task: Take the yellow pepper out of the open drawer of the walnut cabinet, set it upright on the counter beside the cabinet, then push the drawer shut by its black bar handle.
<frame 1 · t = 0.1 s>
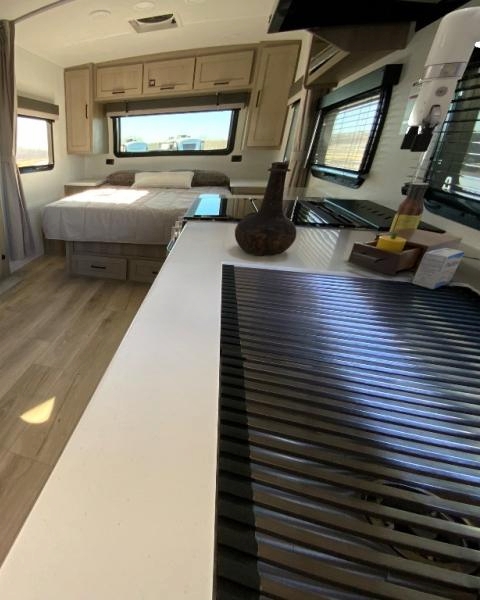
hand: (412, 150, 89), 30 cm above the worktop, tool pointing down, fingers open, 9 cm apart
drawer: (384, 255, 93), point 4 cm above the worktop, slide at 9.0 cm, touching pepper
cabinet: (407, 260, 99), on the worktop
sauce bottle: (396, 245, 111), on the worktop
glass bottle: (260, 252, 111), on the worktop
medicine box: (429, 284, 85), on the worktop
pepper: (383, 260, 94), point 2 cm above the worktop, touching drawer
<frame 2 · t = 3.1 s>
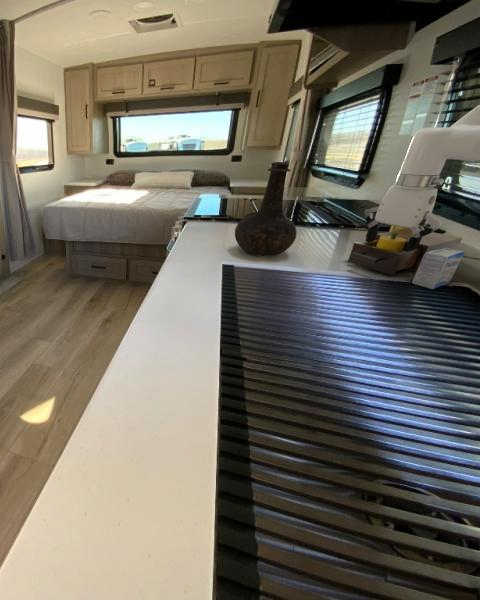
hand: (388, 245, 93), 7 cm above the worktop, tool pointing down, fingers open, 9 cm apart
drawer: (384, 255, 93), point 4 cm above the worktop, slide at 9.0 cm, touching gripper, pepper
everything else where it was.
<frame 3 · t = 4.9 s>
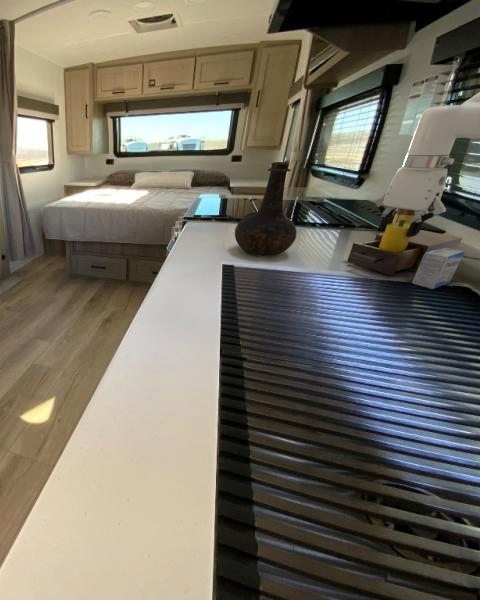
hand: (397, 232, 91), 10 cm above the worktop, tool pointing down, fingers closed on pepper, 5 cm apart
drawer: (383, 255, 93), point 4 cm above the worktop, slide at 9.3 cm
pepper: (391, 248, 93), point 6 cm above the worktop, touching gripper
everything else where it was.
when the fingers open (5 cm above the worktop, at t = 10.5 s): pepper stays where it is, on the worktop.
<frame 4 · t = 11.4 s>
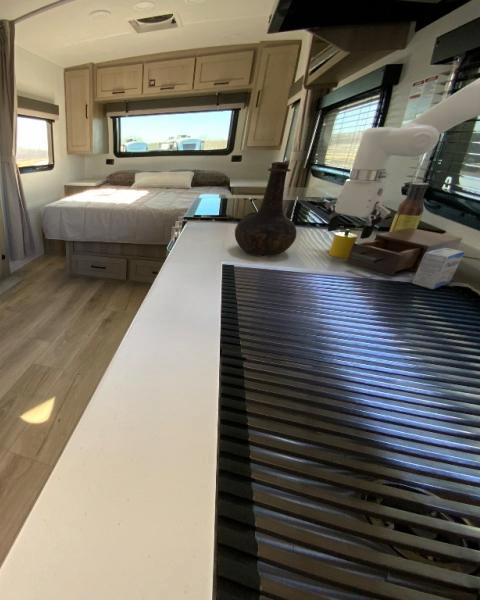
hand: (347, 234, 102), 7 cm above the worktop, tool pointing down, fingers open, 9 cm apart
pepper: (339, 254, 106), on the worktop
everything else where it was.
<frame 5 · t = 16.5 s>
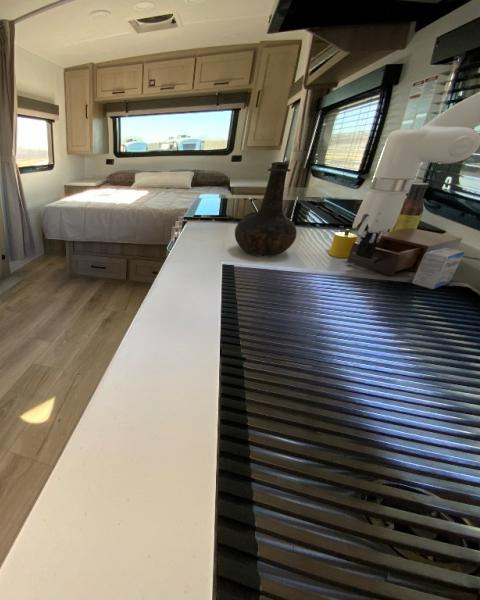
hand: (363, 255, 90), 5 cm above the worktop, tool pointing down, fingers closed
drawer: (383, 255, 93), point 4 cm above the worktop, slide at 9.3 cm, touching gripper
everything else where it was.
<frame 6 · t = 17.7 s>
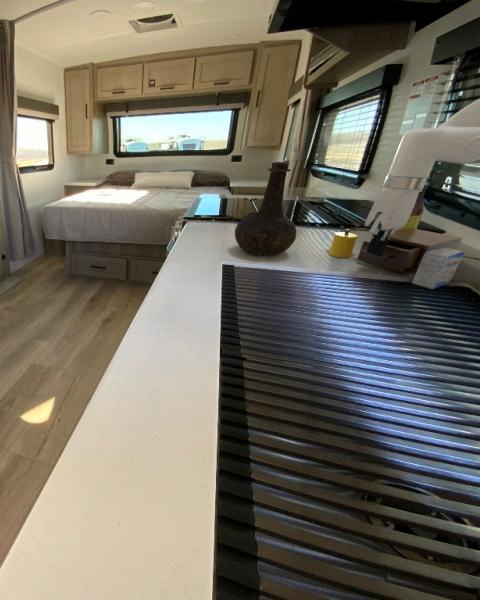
hand: (374, 253, 91), 5 cm above the worktop, tool pointing down, fingers closed
drawer: (393, 253, 95), point 4 cm above the worktop, slide at 4.9 cm, touching gripper
everything else where it was.
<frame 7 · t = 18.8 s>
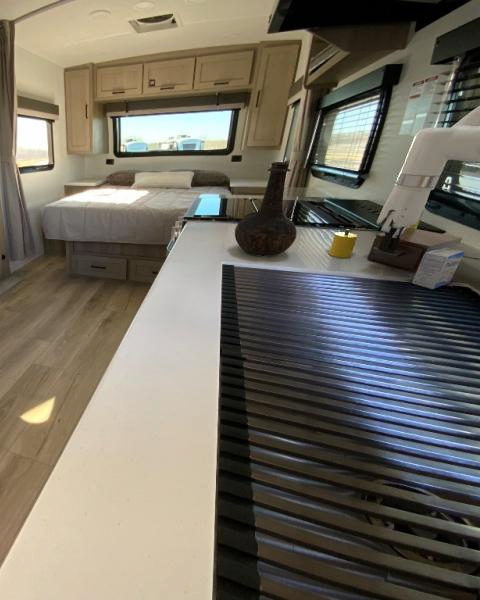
hand: (385, 250, 93), 5 cm above the worktop, tool pointing down, fingers closed
drawer: (404, 250, 96), point 4 cm above the worktop, slide at 0.0 cm, touching cabinet, gripper
everything else where it was.
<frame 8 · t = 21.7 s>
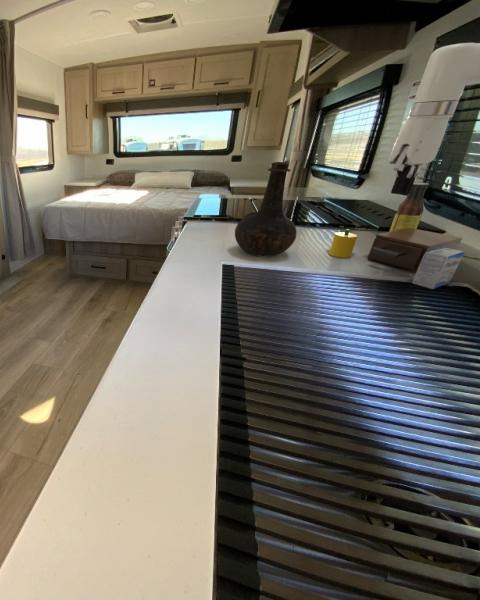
hand: (399, 193, 84), 21 cm above the worktop, tool pointing down, fingers closed
drawer: (404, 250, 96), point 4 cm above the worktop, slide at 0.0 cm, touching cabinet
everything else where it was.
at the end: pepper inside the target area (0.6 cm from its centre), on the worktop; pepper tilted 0°; drawer slide at 0.0 cm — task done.
